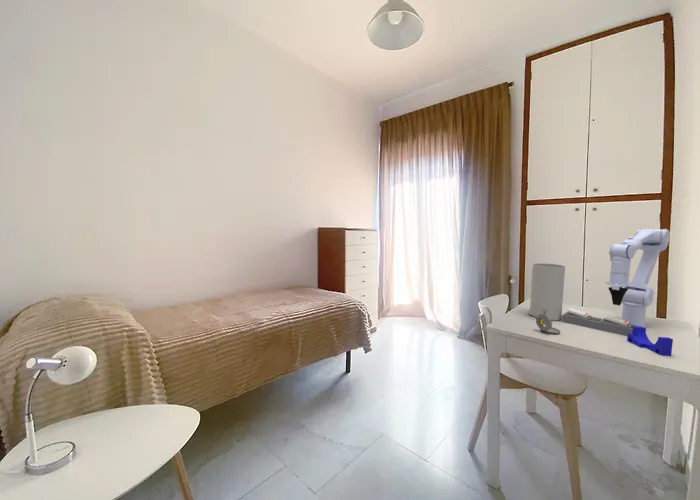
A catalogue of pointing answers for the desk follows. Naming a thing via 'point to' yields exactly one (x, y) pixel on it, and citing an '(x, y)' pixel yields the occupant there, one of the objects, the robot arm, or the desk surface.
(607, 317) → the rocker outlet
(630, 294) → the robot arm
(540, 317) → the pocket watch
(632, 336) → the cable clip
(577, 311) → the rocker outlet
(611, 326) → the power strip
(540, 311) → the cylinder vase
